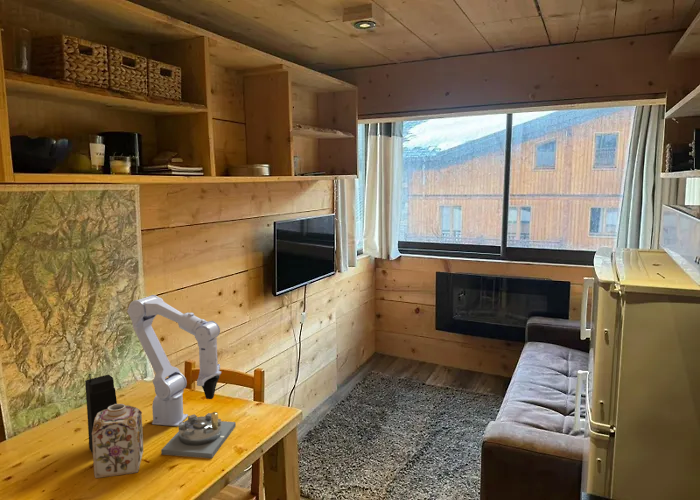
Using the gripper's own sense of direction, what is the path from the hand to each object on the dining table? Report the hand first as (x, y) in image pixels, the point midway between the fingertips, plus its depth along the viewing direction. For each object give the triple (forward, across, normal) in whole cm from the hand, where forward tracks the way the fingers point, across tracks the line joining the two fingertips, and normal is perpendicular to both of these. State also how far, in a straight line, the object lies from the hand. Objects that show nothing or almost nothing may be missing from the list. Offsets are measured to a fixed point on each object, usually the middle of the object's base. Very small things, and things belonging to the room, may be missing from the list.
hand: (209, 398), depth 168 cm
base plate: (+10, -8, 0) cm, 13 cm away
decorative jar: (+11, -25, +17) cm, 32 cm away
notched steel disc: (+9, -8, 0) cm, 12 cm away
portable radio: (+10, -17, +27) cm, 34 cm away
